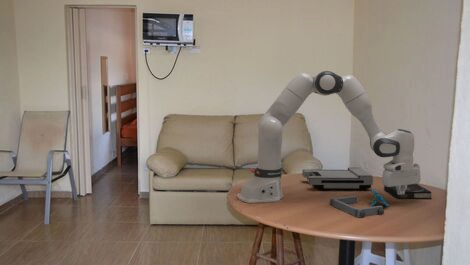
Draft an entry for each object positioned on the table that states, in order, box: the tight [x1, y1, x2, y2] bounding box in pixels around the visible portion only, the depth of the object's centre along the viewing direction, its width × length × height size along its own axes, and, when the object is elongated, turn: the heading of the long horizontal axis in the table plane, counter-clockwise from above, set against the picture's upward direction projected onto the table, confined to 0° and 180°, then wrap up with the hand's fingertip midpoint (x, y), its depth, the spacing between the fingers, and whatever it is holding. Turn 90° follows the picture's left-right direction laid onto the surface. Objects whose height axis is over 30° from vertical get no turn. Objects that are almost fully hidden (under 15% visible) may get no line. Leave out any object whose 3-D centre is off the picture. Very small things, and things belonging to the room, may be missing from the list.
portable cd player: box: [383, 183, 433, 200], centre depth 212 cm, size 16×17×4 cm
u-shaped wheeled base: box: [329, 195, 385, 219], centre depth 187 cm, size 14×20×3 cm, turn 24°
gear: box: [370, 188, 390, 207], centre depth 192 cm, size 11×6×10 cm
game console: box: [301, 167, 374, 192], centre depth 227 cm, size 21×32×8 cm, turn 92°
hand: (400, 194), depth 197 cm, fingers closed
